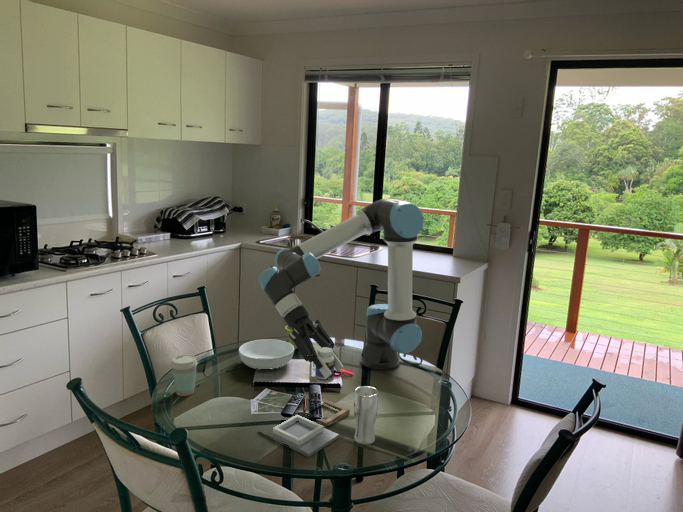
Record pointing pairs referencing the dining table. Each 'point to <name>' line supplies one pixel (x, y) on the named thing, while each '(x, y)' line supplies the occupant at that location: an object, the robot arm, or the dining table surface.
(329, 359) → the pill bottle
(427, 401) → the dining table surface
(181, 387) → the coffee cup
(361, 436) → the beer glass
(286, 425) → the dock
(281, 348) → the serving bowl
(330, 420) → the wooden picture frame
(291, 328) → the plant pot
